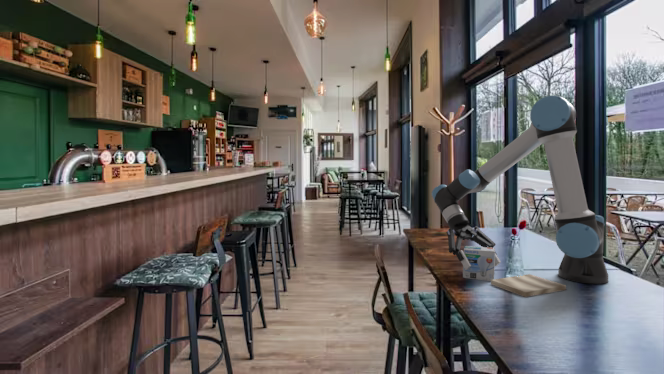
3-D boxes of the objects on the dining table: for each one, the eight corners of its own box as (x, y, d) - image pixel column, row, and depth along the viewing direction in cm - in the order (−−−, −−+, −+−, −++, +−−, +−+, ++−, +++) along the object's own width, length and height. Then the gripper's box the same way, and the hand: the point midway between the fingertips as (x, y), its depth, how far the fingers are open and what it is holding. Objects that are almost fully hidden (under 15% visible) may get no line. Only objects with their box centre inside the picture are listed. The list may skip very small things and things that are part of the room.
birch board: (529, 278, 139) (529, 274, 139) (565, 289, 127) (566, 285, 126) (490, 284, 133) (491, 279, 133) (525, 297, 120) (525, 292, 120)
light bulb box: (462, 278, 140) (463, 248, 139) (463, 273, 146) (464, 245, 145) (494, 281, 136) (495, 251, 135) (494, 276, 142) (495, 247, 141)
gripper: (475, 222, 159) (503, 267, 146) (425, 226, 149) (450, 275, 136) (485, 211, 154) (515, 257, 141) (433, 214, 144) (460, 263, 131)
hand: (483, 266), depth 138 cm, fingers open, 13 cm apart
